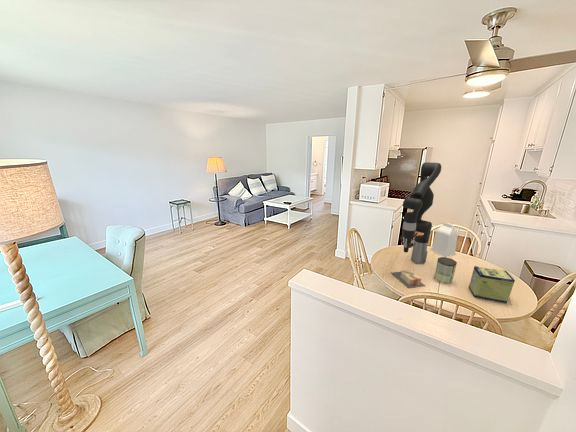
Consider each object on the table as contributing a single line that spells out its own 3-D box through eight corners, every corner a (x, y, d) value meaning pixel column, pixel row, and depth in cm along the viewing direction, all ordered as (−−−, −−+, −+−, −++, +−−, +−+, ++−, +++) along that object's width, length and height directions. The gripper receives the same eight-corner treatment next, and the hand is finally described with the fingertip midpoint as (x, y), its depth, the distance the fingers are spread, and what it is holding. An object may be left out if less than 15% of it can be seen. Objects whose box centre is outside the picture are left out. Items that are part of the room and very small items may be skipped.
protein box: (507, 303, 125) (515, 280, 120) (473, 297, 131) (480, 274, 126) (499, 292, 134) (506, 270, 129) (468, 287, 140) (473, 265, 135)
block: (410, 270, 151) (421, 278, 141) (409, 276, 152) (420, 284, 143) (401, 271, 150) (411, 280, 140) (400, 277, 151) (410, 286, 142)
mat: (406, 271, 159) (406, 270, 159) (425, 286, 142) (425, 285, 142) (391, 273, 157) (391, 272, 157) (408, 288, 140) (408, 287, 140)
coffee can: (432, 274, 155) (435, 256, 150) (449, 276, 151) (453, 258, 147) (436, 282, 145) (440, 263, 141) (454, 285, 142) (459, 265, 138)
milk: (431, 251, 188) (436, 222, 180) (440, 248, 192) (446, 220, 184) (445, 257, 177) (451, 227, 169) (454, 254, 181) (461, 224, 173)
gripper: (421, 231, 138) (417, 256, 144) (407, 224, 151) (404, 247, 156) (411, 232, 137) (407, 257, 143) (397, 225, 150) (394, 248, 155)
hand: (405, 252), depth 149 cm, fingers closed
